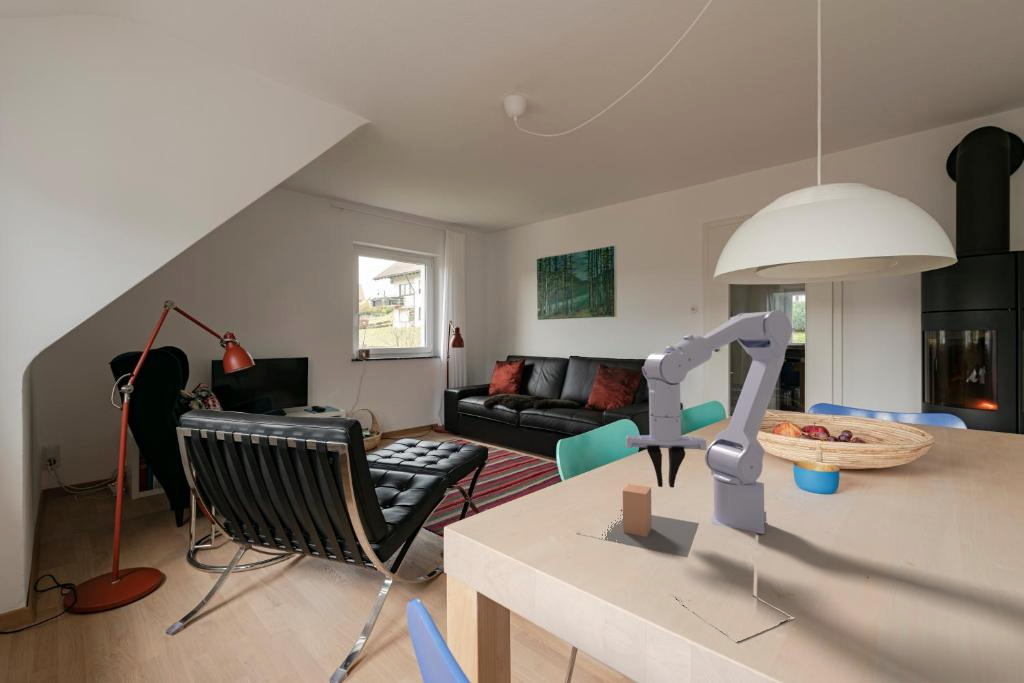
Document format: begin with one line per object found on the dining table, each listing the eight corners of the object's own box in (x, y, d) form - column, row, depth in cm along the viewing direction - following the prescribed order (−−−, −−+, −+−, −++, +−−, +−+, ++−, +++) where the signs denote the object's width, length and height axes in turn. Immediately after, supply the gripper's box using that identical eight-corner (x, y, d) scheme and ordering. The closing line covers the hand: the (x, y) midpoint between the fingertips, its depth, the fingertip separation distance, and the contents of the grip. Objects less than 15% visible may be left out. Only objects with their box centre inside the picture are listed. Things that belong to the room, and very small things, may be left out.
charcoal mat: (698, 526, 90) (698, 523, 90) (686, 560, 76) (686, 557, 76) (602, 509, 100) (602, 506, 100) (575, 536, 86) (575, 533, 86)
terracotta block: (651, 528, 88) (651, 487, 88) (646, 536, 84) (645, 494, 84) (629, 523, 90) (628, 484, 90) (623, 532, 87) (622, 490, 87)
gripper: (700, 412, 89) (701, 481, 89) (625, 411, 92) (625, 477, 92) (708, 418, 82) (709, 492, 82) (626, 416, 85) (627, 488, 85)
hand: (665, 485), depth 87 cm, fingers closed
